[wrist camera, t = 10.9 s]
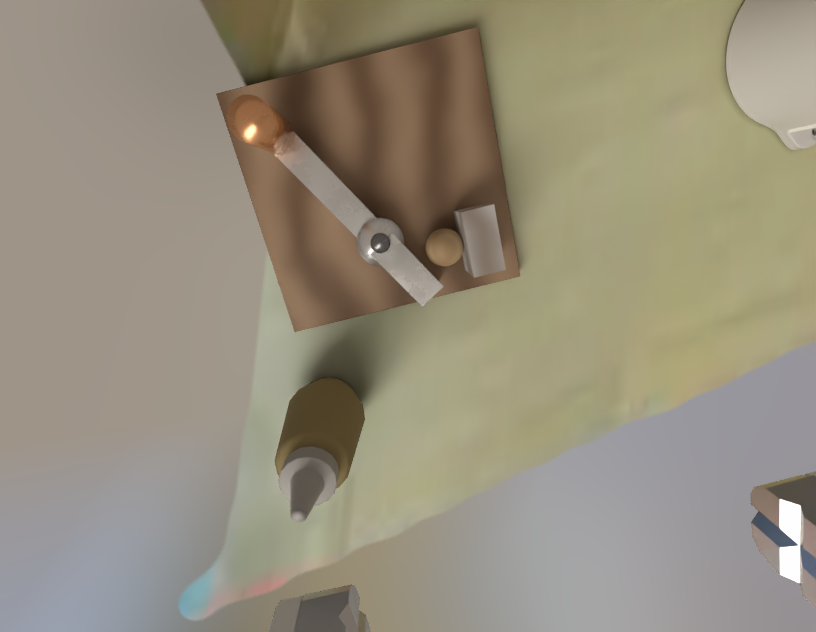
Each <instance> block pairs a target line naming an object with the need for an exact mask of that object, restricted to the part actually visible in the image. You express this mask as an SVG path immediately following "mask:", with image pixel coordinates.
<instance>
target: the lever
mask: <svg viewBox="0 0 816 632" xmlns="http://www.w3.org/2000/svg"><path fill="white" fill-rule="evenodd" d="M227 121H228V125H229V128H230V129H231V131H232V133H233V134H234V135H235V136H236V137H237V138H238V139H240V140H242V141H244V142H246V143H248V144H251V145H253V146H256V147H258V148H261V149H263V150H265V151H268V152H270V153H273V154H274V155H275V156H276V157H277V158H278V159H279V160H280V161H281V162H282V163H283V164H284V165H285V166H286V167H287V168H288V169H289V170H290V171H291V172H292V173H293V174H294V175H295V176H296V177H297V178H298V179H299V180H300V181H301V182H302V183H303V184H304V185H305V186H306V187H307V188H308V189H309V190H310V191H311V192H312V193H313V194H314V195H315V196H316V197H317V198H318V199H319V200H320V201H321V202H322V203H323V204H324V205H325V206H326V207H327V208H328V209H329V210H330V211H331V212H332V213H333V214H334V215H335V216H336V217H337V218H338V219H339V220H340V221H341V222H342V223H343V224H344V225H345V226H346V227H347V228H348V230H349V231H350V232H351V233H352V234H353V235H354V236H355V237H356V238H357V248H358V251H359V253H360V255H361V256H362V258H363V259H364V260H365V261H367V262H368V263H370V264H372V265H375V266H382V267H383V268H384V269H385V270H386V271H387V272H388V273H389V274H390V275H391V276H392V277H393V278H394V279H395V280H396V281H397V282H398V283H399V284H400V285H401V286H402V287H403V288H404V289H405V290H406V291H407V292H408V293H409V294H410V295H411V296H412V297H413V298H414V299H415V300H416V301H417V302H418V303H419V304H420V305H421V306H422V307H423V306H424V305H425V304H426V303H427V302H428V301H429V300H430V299H431V298H432V297H433V296H434V295H435V294H436V293H437V292H438V291H439V290H441V289H442V288H443V287H444V286H443V285H442V283H441V282H440V281H439V280H438V279H437V278H436V277H435V276H434V274H433V273H432V272H431V271H430V270H429V269H428V268H427V267H426V266H425V265H424V264H423V263H422V262H421V261H420V260H419V259H418V258H417V257H416V256H415V255H414V254H413V253H412V252H411V251H410V250H409V248H408V247H407V246H406V245H405V244H404V237H403V234H402V232H401V230H400V228H399V226H398V225H397V224H396V223H395V222H393V221H392V220H390V219H387V218H383V217H376V216H375V215H374V214H373V213H372V212H371V210H370V209H369V208H368V207H367V206H366V205H365V204H364V203H363V202H362V201H361V200H360V199H359V198H358V197H357V196H356V195H355V194H354V193H353V192H352V191H351V190H350V189H349V188H348V187H347V186H346V184H345V183H344V182H343V181H342V180H341V179H340V178H339V177H338V176H337V175H336V174H335V173H334V172H333V171H332V170H331V169H330V168H329V167H328V166H327V165H326V164H325V163H324V162H323V161H322V160H321V159H320V157H319V156H318V155H317V154H316V153H315V152H314V151H313V150H312V149H311V148H310V147H309V146H308V145H307V144H306V143H305V142H304V141H303V140H302V139H301V138H300V137H299V136H298V135H297V134H296V133H295V132H294V130H293V129H292V127H291V125H290V123H289V122H288V121H287V120H286V119H285V118H284V117H283V116H282V115H280V114H279V113H278V112H277V111H276V110H274V109H273V108H272V107H271V106H269V105H268V104H267V103H266V102H265V101H263V100H262V99H261V98H259V97H257V96H254V95H249V94H246V95H241V96H239V97H237V98H235V99H234V100H233V101H232V102H231V104H230V106H229V108H228V112H227Z"/></svg>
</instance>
